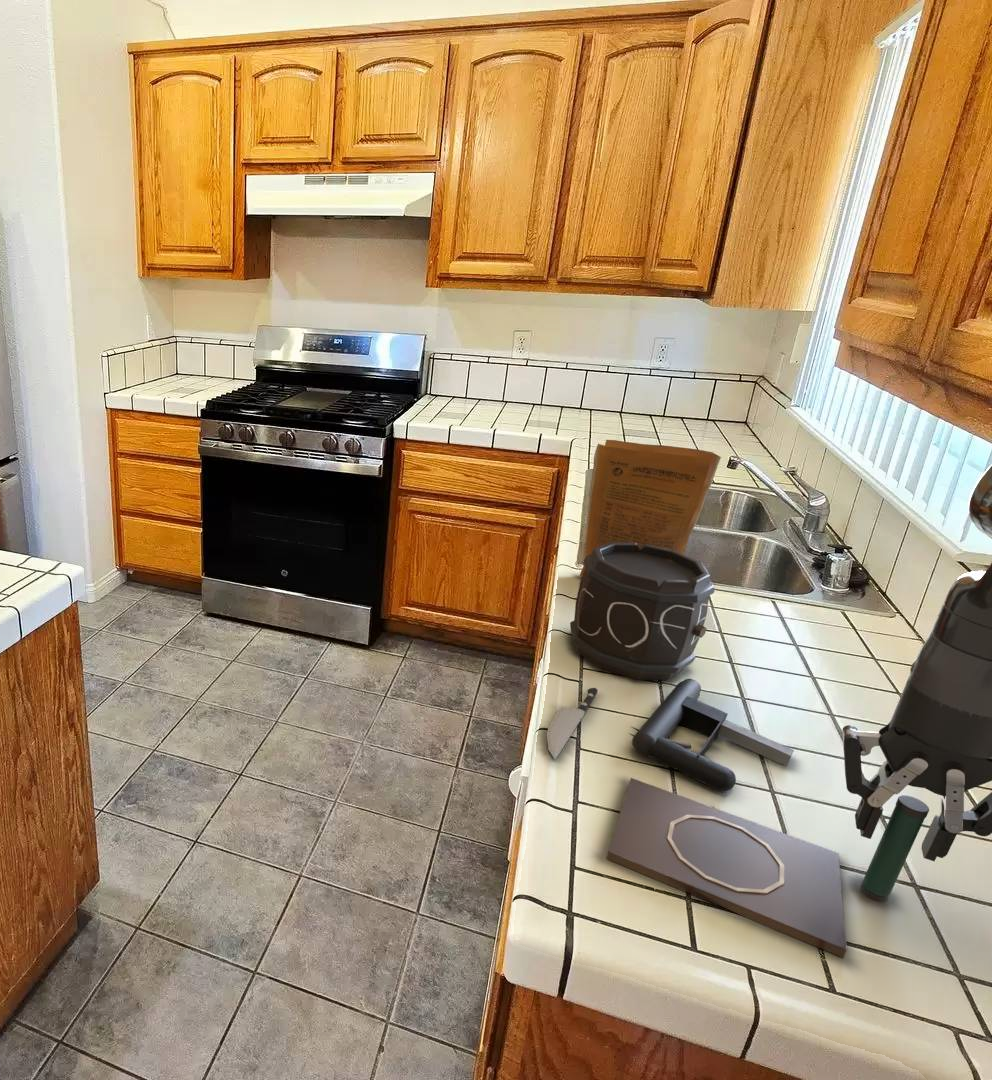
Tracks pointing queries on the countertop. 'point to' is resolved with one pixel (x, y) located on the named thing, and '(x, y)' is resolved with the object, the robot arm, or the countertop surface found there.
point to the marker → (894, 847)
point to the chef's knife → (567, 723)
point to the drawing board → (732, 864)
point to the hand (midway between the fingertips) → (896, 842)
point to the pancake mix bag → (646, 494)
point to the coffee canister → (640, 610)
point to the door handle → (706, 721)
